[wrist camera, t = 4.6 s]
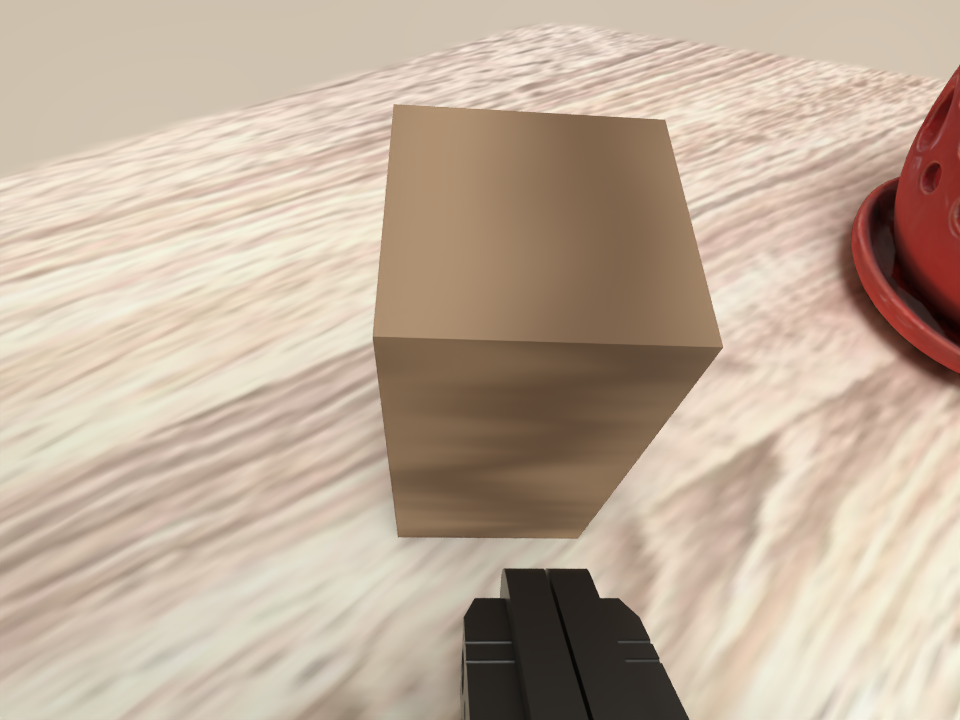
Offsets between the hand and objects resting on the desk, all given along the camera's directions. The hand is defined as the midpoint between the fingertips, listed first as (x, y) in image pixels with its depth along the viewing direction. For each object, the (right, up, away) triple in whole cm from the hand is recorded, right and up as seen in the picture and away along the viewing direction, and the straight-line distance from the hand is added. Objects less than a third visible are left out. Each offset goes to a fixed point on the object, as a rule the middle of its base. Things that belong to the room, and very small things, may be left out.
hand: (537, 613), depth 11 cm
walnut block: (-1, +1, +11) cm, 11 cm away
